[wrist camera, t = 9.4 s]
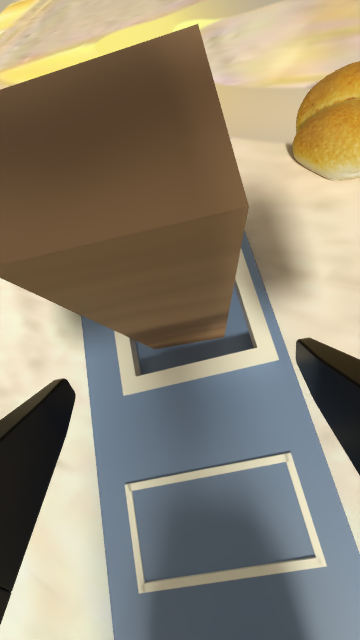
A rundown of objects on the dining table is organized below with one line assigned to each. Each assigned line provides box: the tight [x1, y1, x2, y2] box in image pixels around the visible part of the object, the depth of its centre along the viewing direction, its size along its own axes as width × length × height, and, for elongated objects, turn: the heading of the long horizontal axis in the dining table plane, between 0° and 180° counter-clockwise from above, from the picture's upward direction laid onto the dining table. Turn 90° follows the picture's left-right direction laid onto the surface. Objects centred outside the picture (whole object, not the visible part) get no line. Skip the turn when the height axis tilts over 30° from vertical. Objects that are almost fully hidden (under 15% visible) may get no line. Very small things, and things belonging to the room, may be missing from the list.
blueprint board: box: [81, 231, 360, 640], centre depth 15 cm, size 24×14×2 cm, turn 13°
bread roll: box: [293, 61, 360, 181], centre depth 17 cm, size 8×9×4 cm
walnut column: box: [0, 24, 249, 349], centre depth 11 cm, size 5×5×12 cm
